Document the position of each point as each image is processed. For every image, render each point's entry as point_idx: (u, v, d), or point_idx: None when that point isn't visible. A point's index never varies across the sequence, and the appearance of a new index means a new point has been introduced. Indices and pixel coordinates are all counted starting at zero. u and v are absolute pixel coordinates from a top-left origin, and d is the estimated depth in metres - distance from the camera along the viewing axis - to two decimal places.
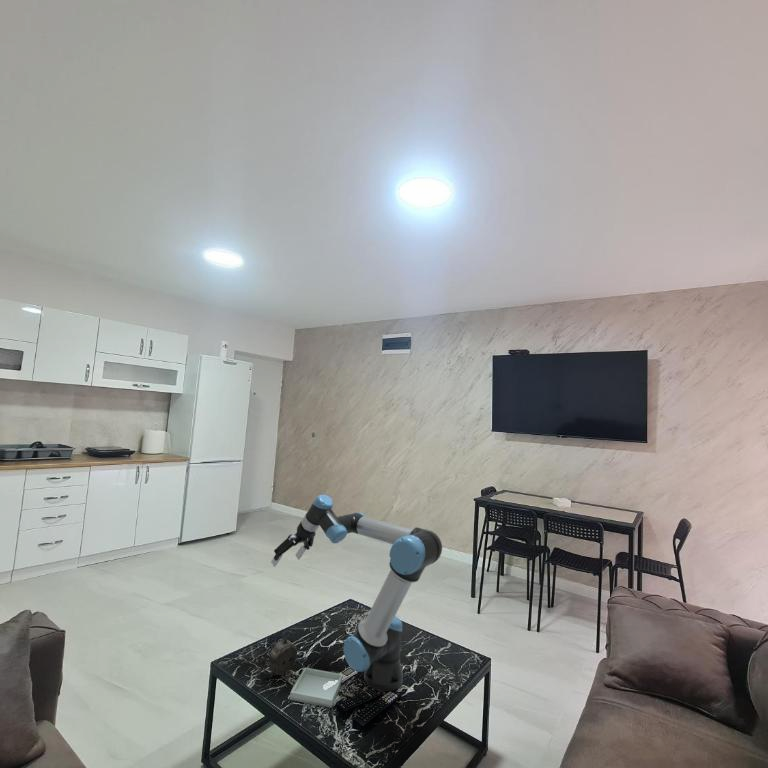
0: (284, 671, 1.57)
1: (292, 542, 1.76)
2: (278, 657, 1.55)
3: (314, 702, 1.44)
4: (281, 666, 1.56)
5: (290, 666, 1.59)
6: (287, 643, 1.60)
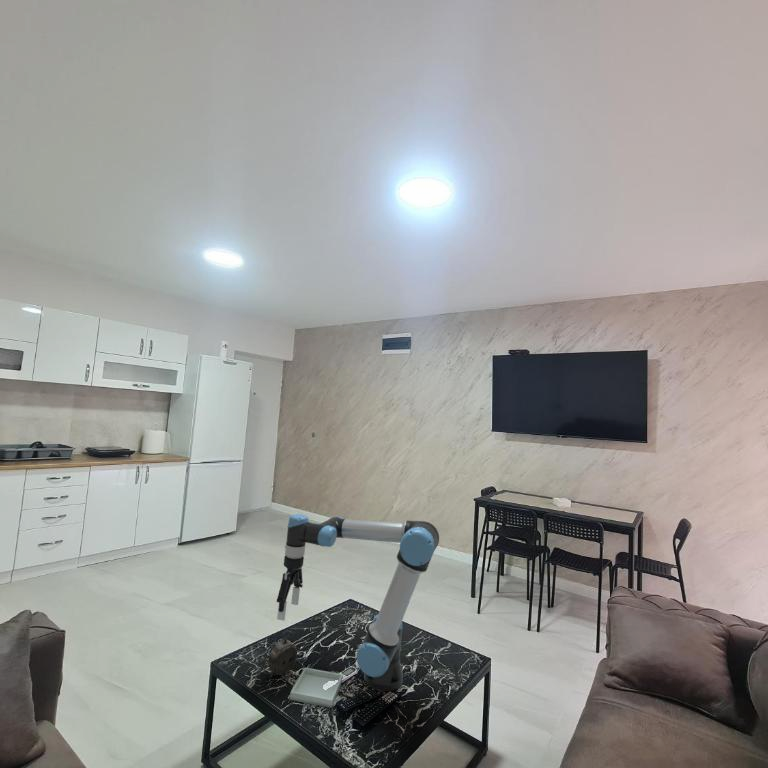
0: (284, 671, 1.57)
1: (288, 582, 1.59)
2: (278, 657, 1.55)
3: (314, 702, 1.44)
4: (281, 666, 1.56)
5: (290, 666, 1.59)
6: (287, 643, 1.60)
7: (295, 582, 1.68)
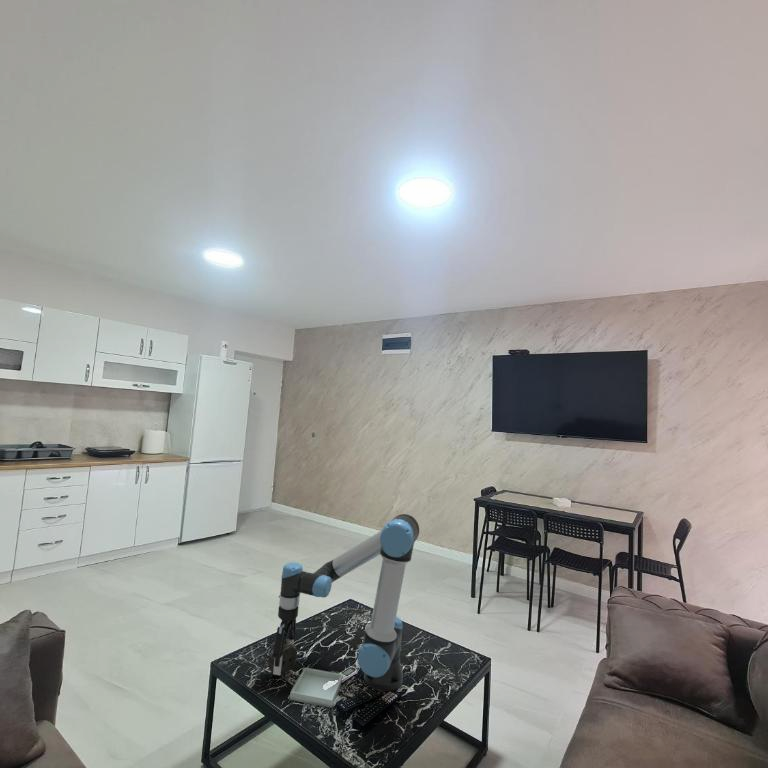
0: (284, 671, 1.57)
1: (283, 634, 1.57)
2: None
3: (314, 702, 1.44)
4: (281, 666, 1.56)
5: (290, 666, 1.59)
6: (287, 643, 1.59)
7: (289, 633, 1.65)
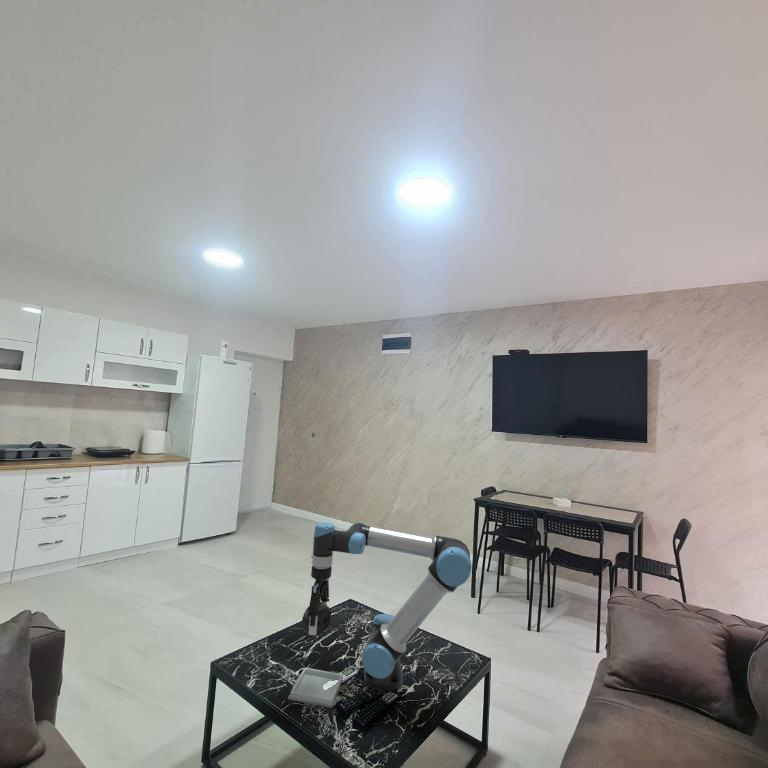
0: (319, 632, 1.53)
1: None
2: None
3: (314, 702, 1.44)
4: None
5: (324, 628, 1.55)
6: (321, 604, 1.55)
7: None
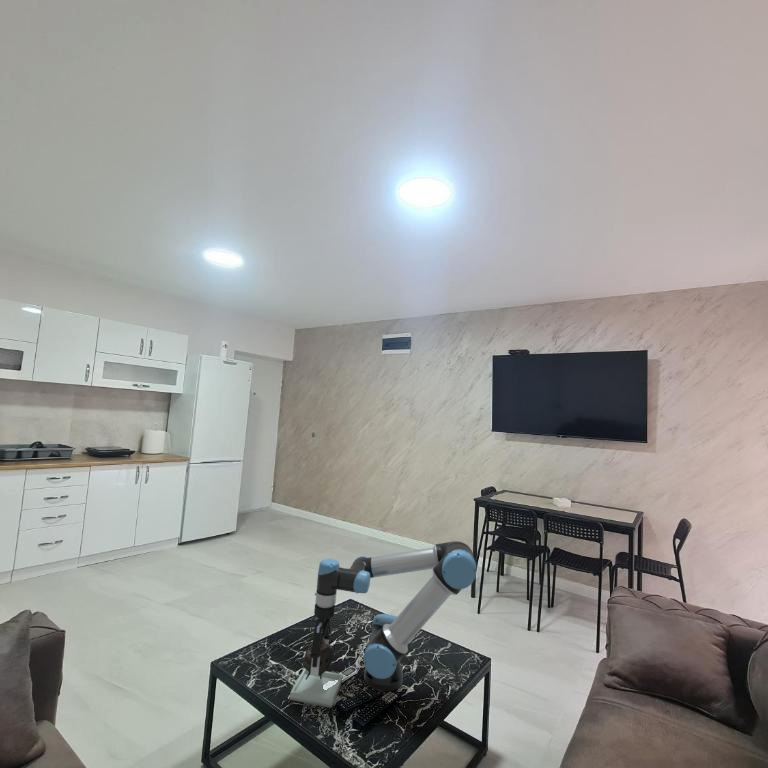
0: (320, 672, 1.51)
1: None
2: None
3: (314, 702, 1.44)
4: None
5: (326, 667, 1.53)
6: (323, 643, 1.53)
7: (324, 633, 1.58)
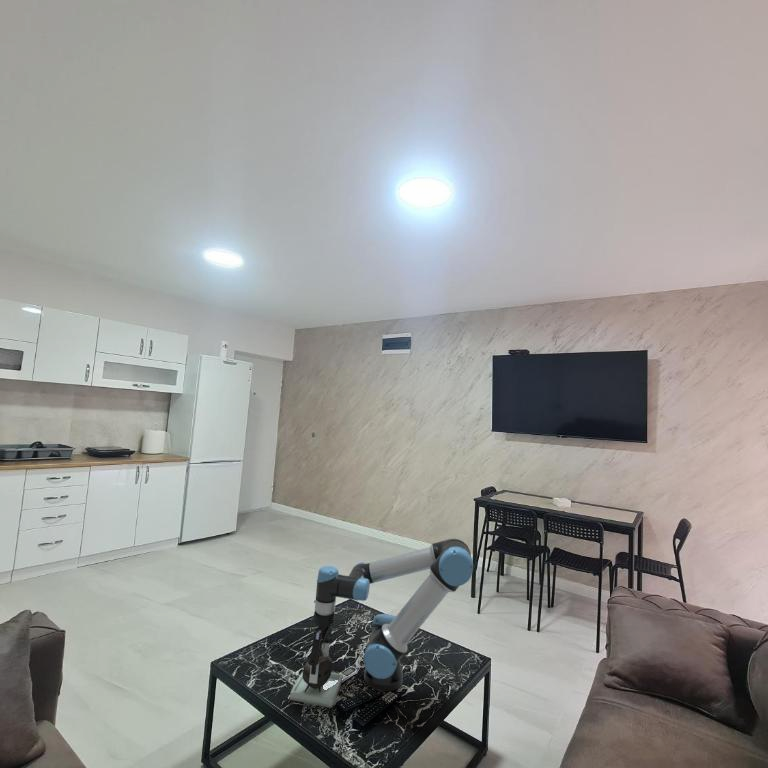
0: (319, 685, 1.50)
1: None
2: None
3: (314, 702, 1.44)
4: None
5: (325, 680, 1.52)
6: (322, 655, 1.52)
7: (325, 638, 1.59)
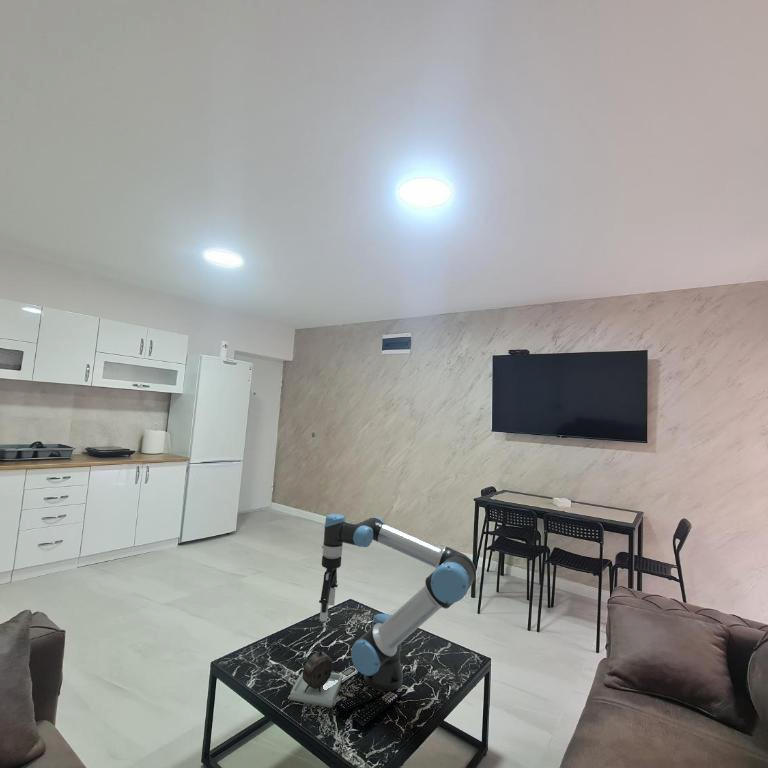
0: (319, 685, 1.50)
1: None
2: (313, 670, 1.48)
3: (314, 702, 1.44)
4: (316, 679, 1.49)
5: (325, 680, 1.52)
6: (322, 655, 1.52)
7: None
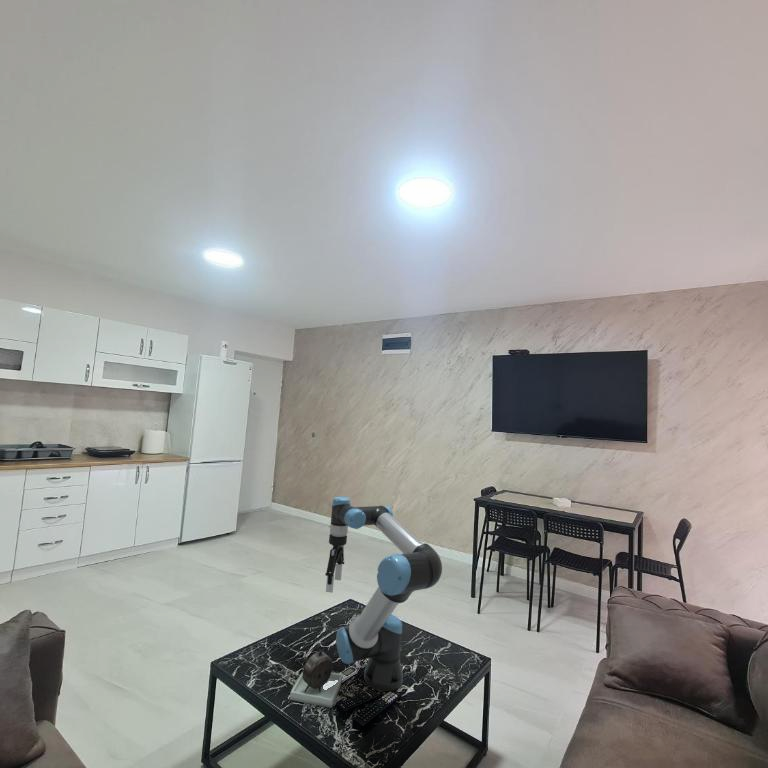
0: (319, 685, 1.50)
1: None
2: (313, 670, 1.48)
3: (314, 702, 1.44)
4: (316, 679, 1.49)
5: (325, 680, 1.52)
6: (322, 655, 1.52)
7: (338, 559, 1.82)
